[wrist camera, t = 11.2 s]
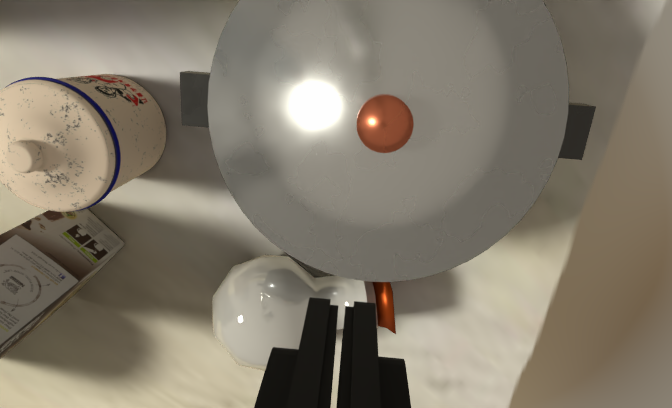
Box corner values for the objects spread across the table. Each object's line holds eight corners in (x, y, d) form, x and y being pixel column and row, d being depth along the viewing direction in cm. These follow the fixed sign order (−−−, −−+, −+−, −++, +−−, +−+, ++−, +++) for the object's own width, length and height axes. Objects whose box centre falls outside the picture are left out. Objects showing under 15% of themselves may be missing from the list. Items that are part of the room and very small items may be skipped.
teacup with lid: (169, 76, 36) (85, 88, 25) (172, 183, 39) (99, 235, 28) (24, 62, 37) (-121, 68, 26) (39, 169, 40) (-86, 216, 29)
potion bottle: (222, 269, 43) (376, 250, 44) (228, 376, 41) (392, 355, 41) (192, 250, 35) (384, 227, 35) (195, 385, 32) (405, 358, 32)
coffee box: (72, 194, 40) (-105, 282, 25) (128, 243, 42) (-8, 356, 26) (17, 254, 43) (-176, 369, 27) (71, 299, 44) (-84, 433, 29)
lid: (212, -90, 24) (194, -109, 21) (599, -63, 23) (629, -78, 20) (215, 258, 30) (201, 277, 27) (520, 287, 29) (535, 309, 26)
